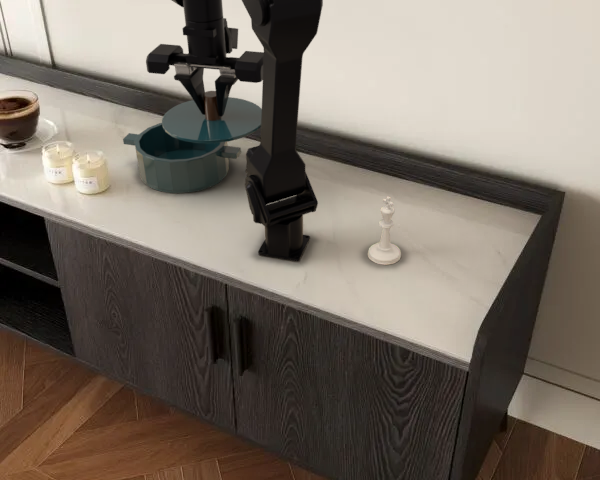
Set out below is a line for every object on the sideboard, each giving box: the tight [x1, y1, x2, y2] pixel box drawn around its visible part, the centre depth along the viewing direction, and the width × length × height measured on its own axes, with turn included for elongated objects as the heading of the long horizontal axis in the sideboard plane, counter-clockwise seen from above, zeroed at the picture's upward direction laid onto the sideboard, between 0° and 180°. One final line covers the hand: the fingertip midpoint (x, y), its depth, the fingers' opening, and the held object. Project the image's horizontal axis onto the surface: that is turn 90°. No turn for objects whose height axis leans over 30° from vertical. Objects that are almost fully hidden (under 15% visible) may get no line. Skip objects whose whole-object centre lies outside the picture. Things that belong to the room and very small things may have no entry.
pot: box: [122, 122, 242, 194], centre depth 133 cm, size 16×21×6 cm
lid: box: [161, 90, 262, 143], centre depth 123 cm, size 17×17×5 cm
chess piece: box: [367, 195, 402, 266], centre depth 111 cm, size 5×5×10 cm
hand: (213, 114), depth 123 cm, fingers closed on lid, 3 cm apart
